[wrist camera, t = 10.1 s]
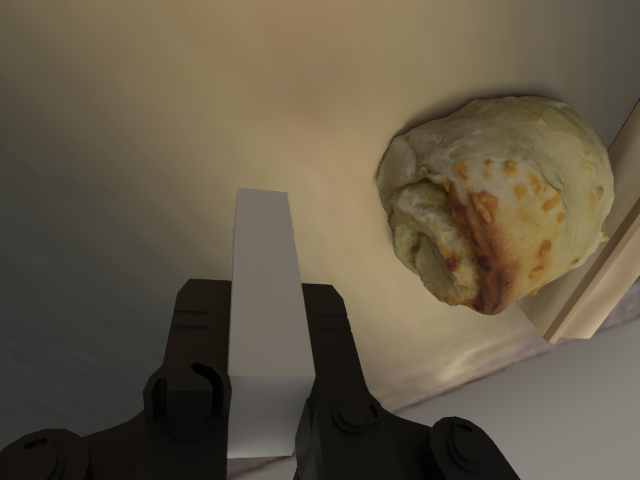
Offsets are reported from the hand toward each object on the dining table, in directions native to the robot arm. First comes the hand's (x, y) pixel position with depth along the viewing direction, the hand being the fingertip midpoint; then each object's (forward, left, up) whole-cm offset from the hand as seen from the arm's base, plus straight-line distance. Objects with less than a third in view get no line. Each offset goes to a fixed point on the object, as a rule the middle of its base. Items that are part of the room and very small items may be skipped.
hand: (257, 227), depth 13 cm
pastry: (+14, -2, -11) cm, 18 cm away
